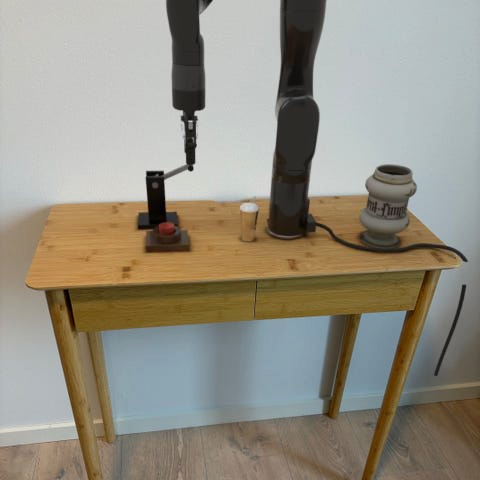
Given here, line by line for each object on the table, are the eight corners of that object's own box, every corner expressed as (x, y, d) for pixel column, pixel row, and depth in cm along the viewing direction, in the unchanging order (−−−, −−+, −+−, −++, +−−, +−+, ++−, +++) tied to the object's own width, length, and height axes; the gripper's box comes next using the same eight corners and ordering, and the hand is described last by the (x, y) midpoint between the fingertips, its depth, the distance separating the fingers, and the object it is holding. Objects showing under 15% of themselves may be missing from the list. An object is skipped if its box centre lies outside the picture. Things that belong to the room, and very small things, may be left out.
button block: (187, 236, 122) (187, 223, 120) (189, 251, 116) (188, 237, 114) (146, 237, 121) (145, 223, 119) (146, 252, 115) (144, 238, 113)
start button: (174, 228, 118) (174, 221, 117) (174, 235, 115) (174, 228, 114) (159, 229, 118) (158, 222, 117) (159, 235, 115) (158, 228, 114)
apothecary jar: (348, 230, 128) (360, 161, 118) (392, 228, 130) (407, 160, 120) (365, 252, 119) (380, 178, 108) (412, 249, 120) (431, 177, 110)
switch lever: (194, 165, 123) (190, 156, 122) (195, 171, 119) (191, 162, 118) (152, 184, 125) (148, 175, 123) (152, 191, 121) (147, 182, 119)
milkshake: (261, 235, 124) (263, 197, 118) (252, 244, 120) (254, 205, 114) (244, 232, 125) (246, 194, 119) (235, 240, 121) (237, 201, 115)
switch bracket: (176, 215, 132) (175, 168, 125) (177, 228, 126) (175, 179, 118) (139, 216, 131) (134, 168, 123) (137, 229, 124) (133, 179, 117)
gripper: (207, 92, 105) (207, 168, 114) (203, 80, 117) (203, 149, 126) (172, 92, 104) (174, 168, 113) (171, 79, 116) (173, 149, 125)
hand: (189, 158), depth 120 cm, fingers open, 8 cm apart
